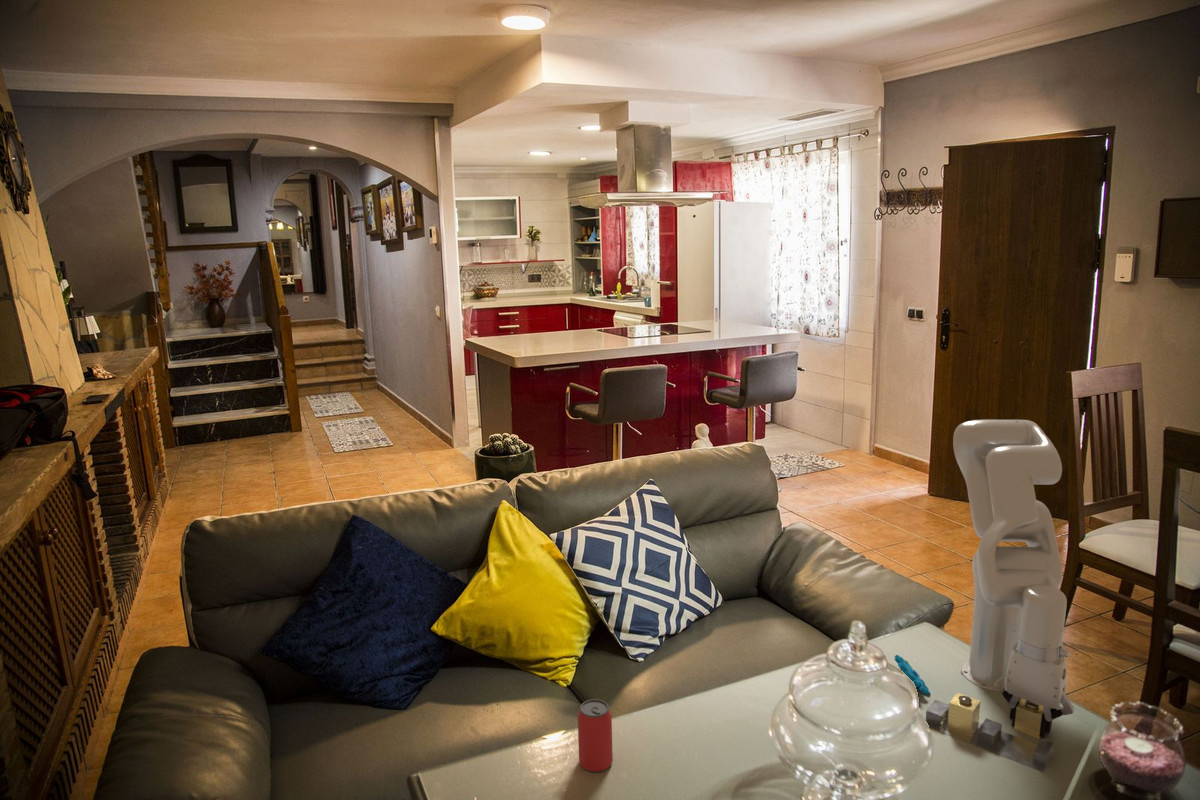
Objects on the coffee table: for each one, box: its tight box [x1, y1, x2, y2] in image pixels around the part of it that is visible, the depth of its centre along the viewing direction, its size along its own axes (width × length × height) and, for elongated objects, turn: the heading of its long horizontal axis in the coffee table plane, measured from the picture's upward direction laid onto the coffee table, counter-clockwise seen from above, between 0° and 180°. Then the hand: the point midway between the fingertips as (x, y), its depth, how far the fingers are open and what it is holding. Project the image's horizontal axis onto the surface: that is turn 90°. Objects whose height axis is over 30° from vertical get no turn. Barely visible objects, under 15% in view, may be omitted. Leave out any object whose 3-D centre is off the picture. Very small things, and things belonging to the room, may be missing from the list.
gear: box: [893, 654, 931, 696], centre depth 174 cm, size 11×6×10 cm
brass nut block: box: [1013, 698, 1044, 739], centre depth 157 cm, size 4×4×7 cm
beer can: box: [577, 698, 614, 773], centre depth 151 cm, size 7×7×12 cm
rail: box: [925, 699, 1054, 773], centre depth 155 cm, size 8×22×4 cm, turn 48°
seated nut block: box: [947, 692, 981, 738], centre depth 157 cm, size 4×4×7 cm
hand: (1029, 727), depth 158 cm, fingers closed on brass nut block, 4 cm apart
